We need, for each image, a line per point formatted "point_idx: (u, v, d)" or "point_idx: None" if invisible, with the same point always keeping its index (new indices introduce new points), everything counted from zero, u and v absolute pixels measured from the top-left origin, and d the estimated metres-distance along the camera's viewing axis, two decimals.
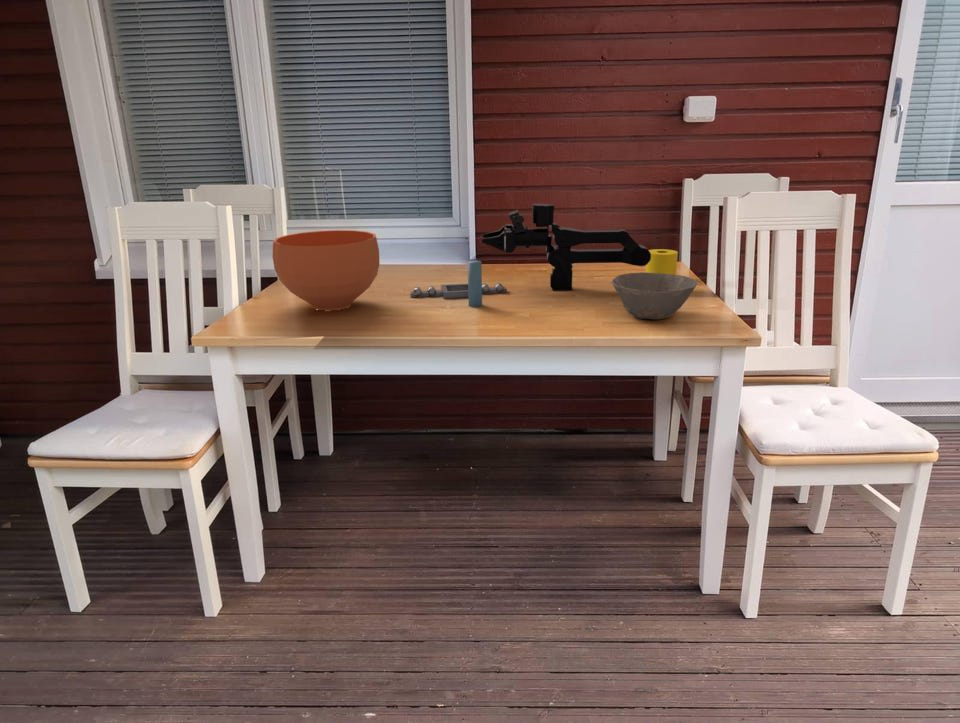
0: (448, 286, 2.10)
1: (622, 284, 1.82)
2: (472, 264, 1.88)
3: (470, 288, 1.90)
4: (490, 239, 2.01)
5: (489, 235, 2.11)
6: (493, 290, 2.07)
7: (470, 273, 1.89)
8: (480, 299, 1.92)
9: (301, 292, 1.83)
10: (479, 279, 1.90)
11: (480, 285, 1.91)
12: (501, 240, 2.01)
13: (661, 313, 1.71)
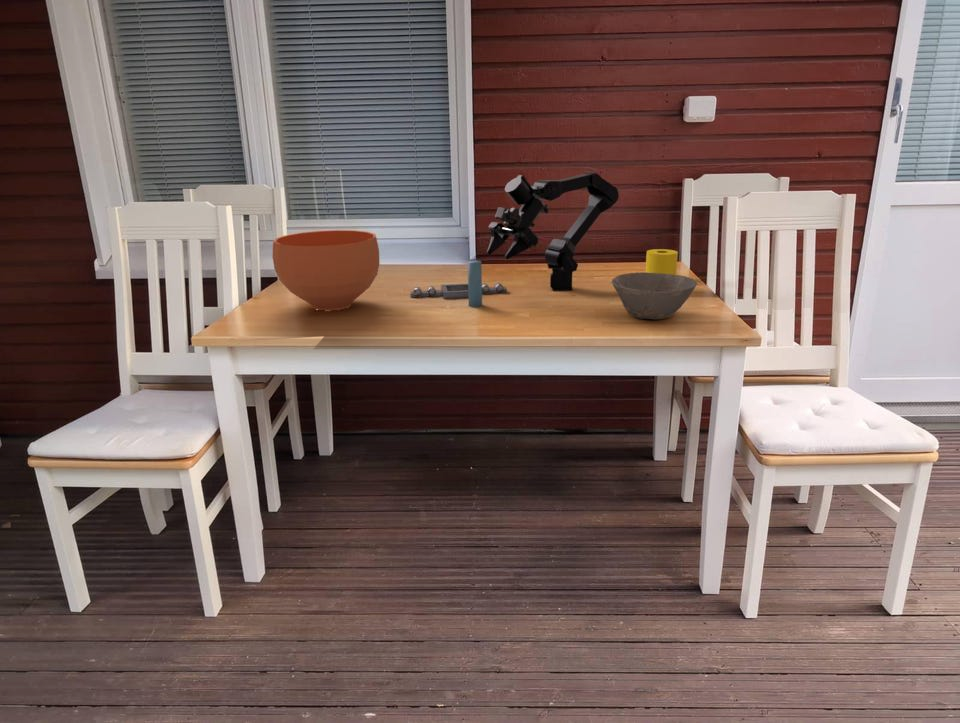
0: (448, 286, 2.10)
1: (622, 284, 1.82)
2: (472, 264, 1.88)
3: (470, 288, 1.90)
4: (511, 250, 1.89)
5: (491, 248, 1.97)
6: (493, 290, 2.07)
7: (470, 273, 1.89)
8: (480, 299, 1.92)
9: (301, 292, 1.83)
10: (479, 279, 1.90)
11: (480, 285, 1.91)
12: (519, 242, 1.90)
13: (661, 313, 1.71)
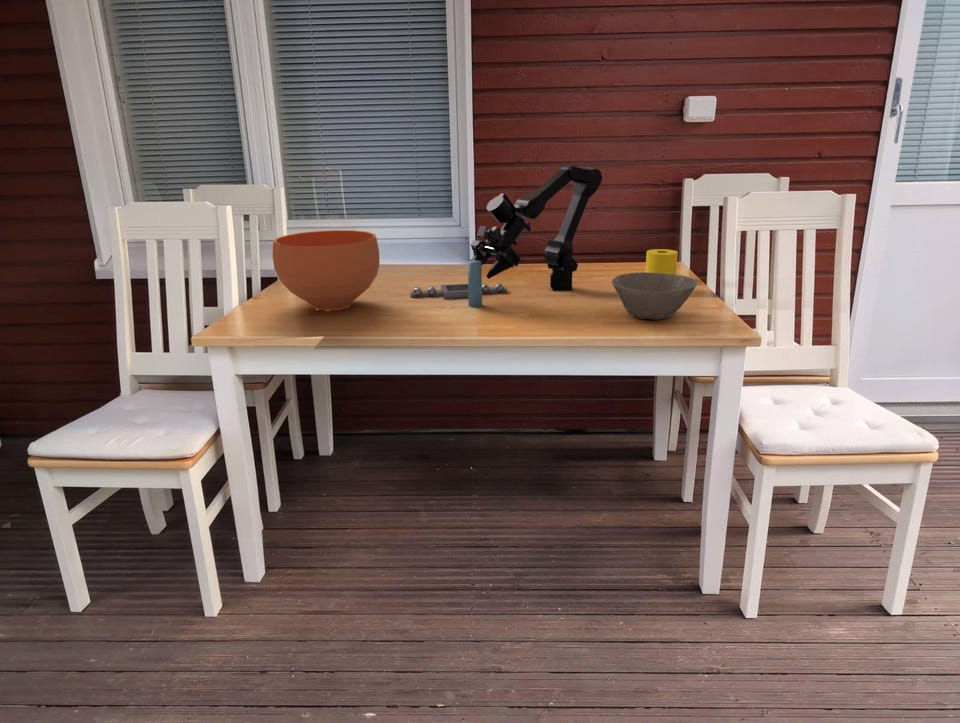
0: (448, 286, 2.10)
1: (622, 284, 1.82)
2: (472, 264, 1.88)
3: (470, 288, 1.90)
4: (493, 269, 1.87)
5: None
6: (493, 290, 2.07)
7: (470, 273, 1.89)
8: (480, 299, 1.92)
9: (301, 292, 1.83)
10: (479, 279, 1.90)
11: (480, 285, 1.91)
12: (501, 261, 1.88)
13: (661, 313, 1.71)
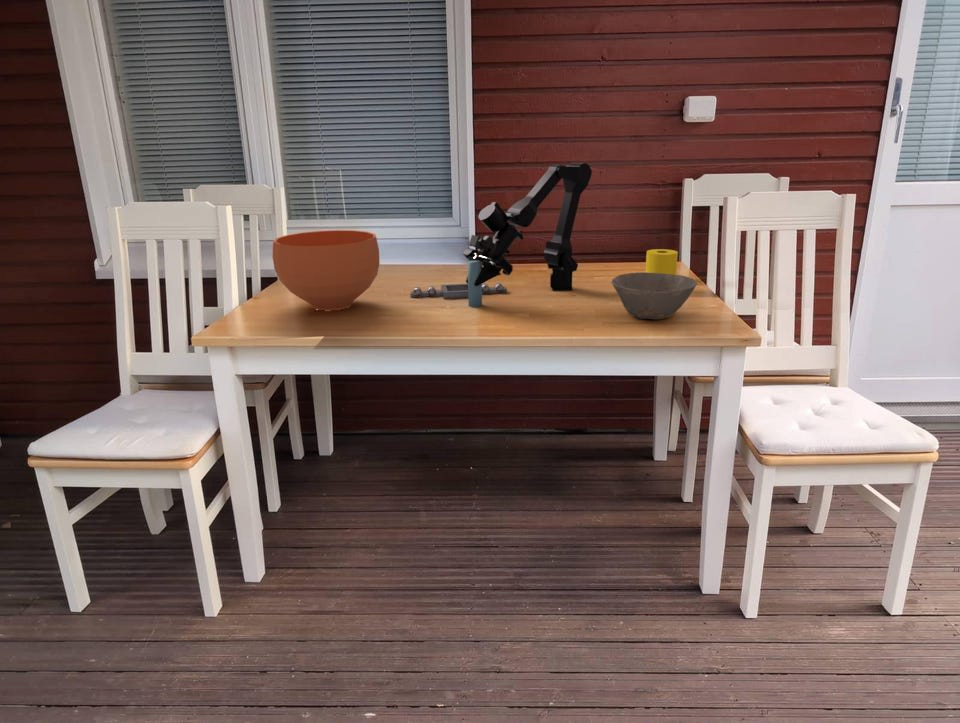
0: (448, 286, 2.10)
1: (622, 284, 1.82)
2: (472, 264, 1.88)
3: (470, 288, 1.90)
4: (481, 277, 1.88)
5: None
6: (493, 290, 2.07)
7: (470, 273, 1.89)
8: (480, 299, 1.92)
9: (301, 292, 1.83)
10: None
11: (480, 285, 1.91)
12: (489, 269, 1.89)
13: (661, 313, 1.71)
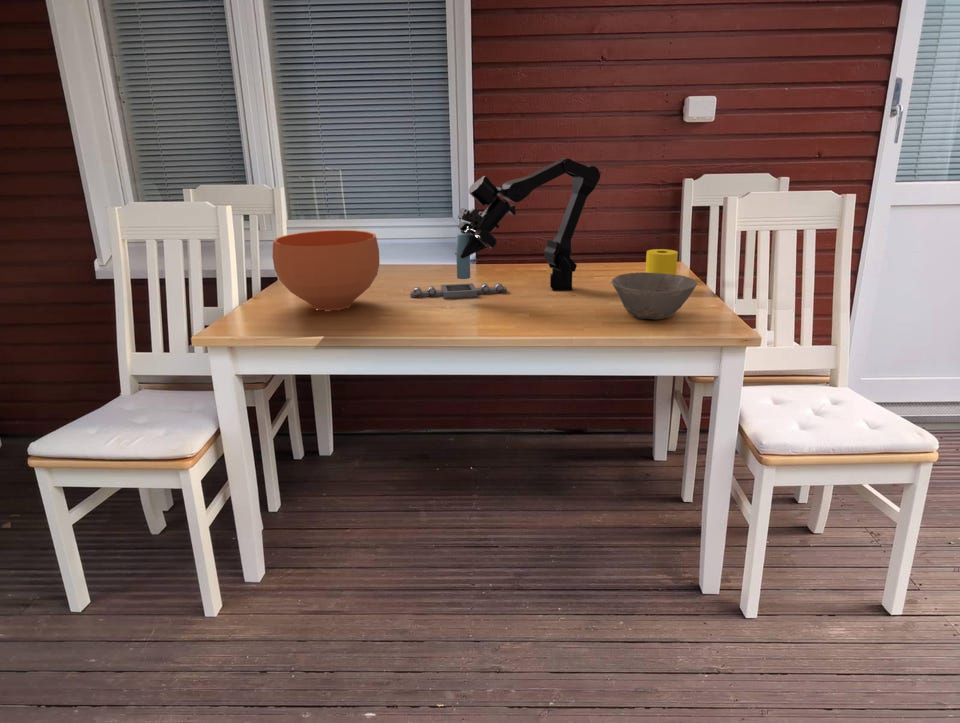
0: (448, 286, 2.10)
1: (622, 284, 1.82)
2: (458, 236, 1.92)
3: (457, 260, 1.95)
4: (466, 250, 1.92)
5: None
6: (493, 290, 2.07)
7: (457, 245, 1.93)
8: (467, 271, 1.96)
9: (301, 292, 1.83)
10: None
11: (467, 258, 1.94)
12: (475, 242, 1.92)
13: (661, 313, 1.71)
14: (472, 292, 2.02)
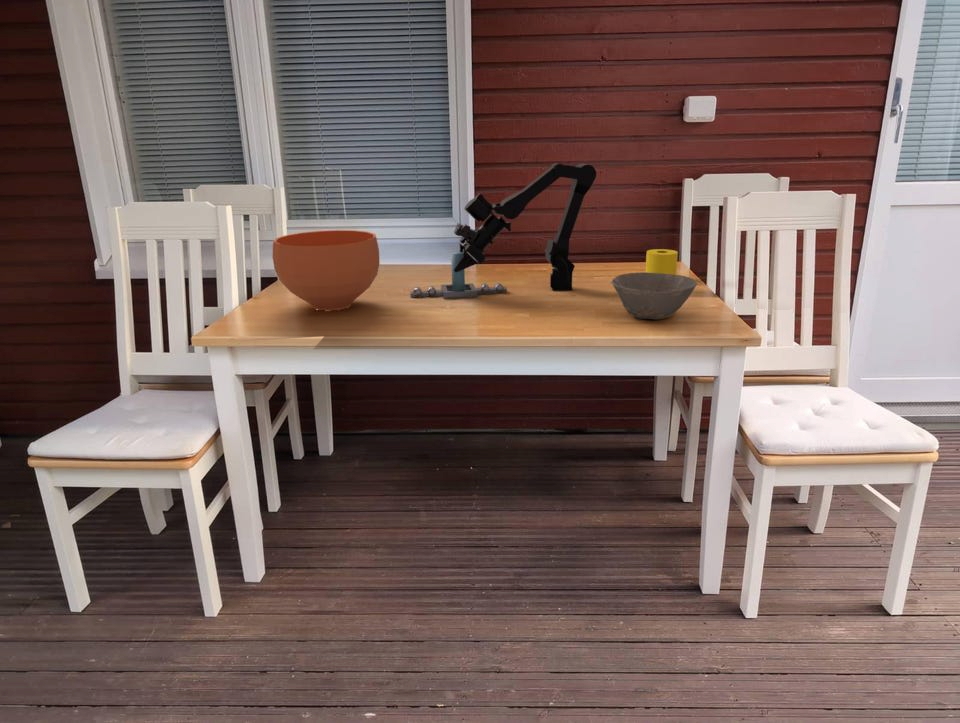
0: (448, 286, 2.10)
1: (622, 284, 1.82)
2: (453, 255, 2.02)
3: (452, 277, 2.05)
4: (459, 264, 2.00)
5: None
6: (493, 290, 2.07)
7: (452, 263, 2.03)
8: (461, 288, 2.05)
9: (301, 292, 1.83)
10: None
11: (461, 275, 2.04)
12: (468, 257, 1.99)
13: (661, 313, 1.71)
14: (472, 292, 2.02)
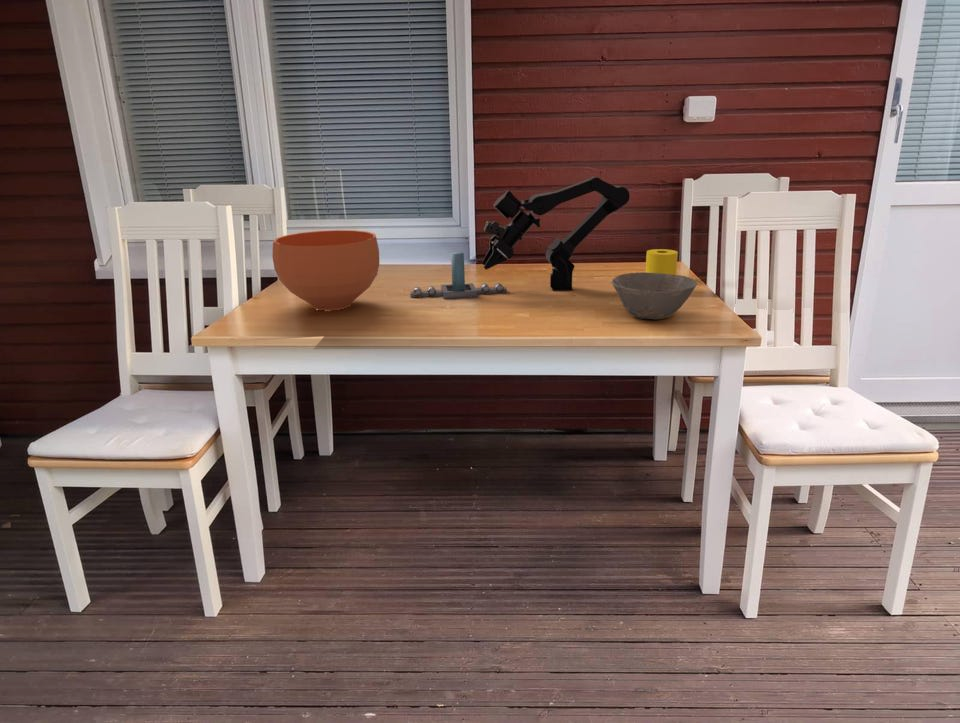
0: (448, 286, 2.10)
1: (622, 284, 1.82)
2: (453, 255, 2.02)
3: (452, 277, 2.05)
4: (489, 261, 2.00)
5: (486, 259, 2.10)
6: (493, 290, 2.07)
7: (452, 263, 2.03)
8: (461, 288, 2.05)
9: (301, 292, 1.83)
10: (459, 270, 2.03)
11: (461, 275, 2.04)
12: (497, 253, 1.99)
13: (661, 313, 1.71)
14: (472, 292, 2.02)
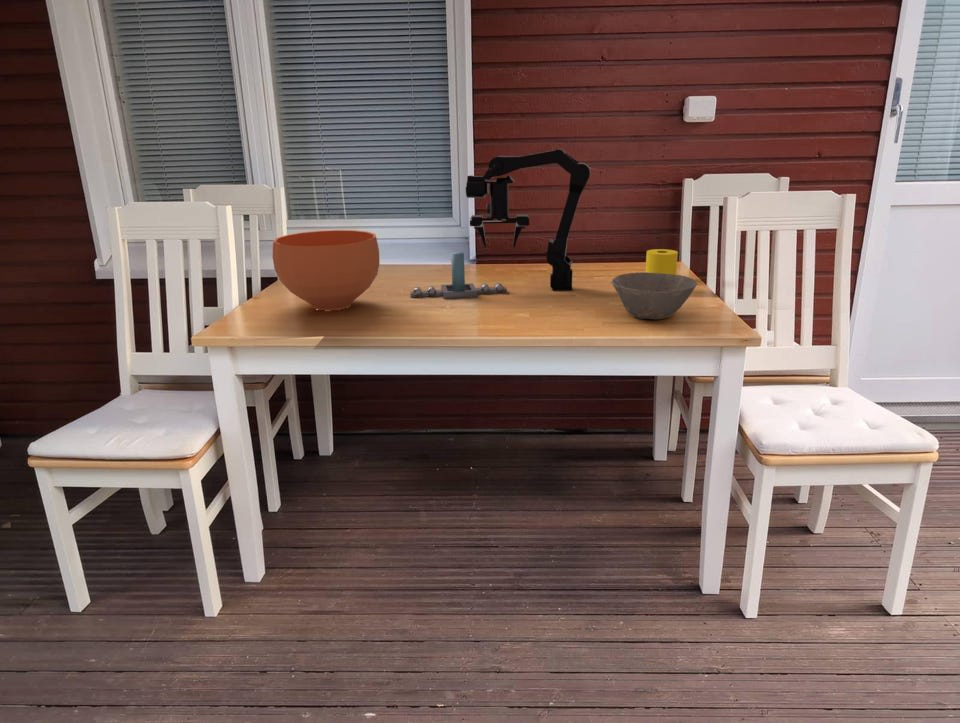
0: (448, 286, 2.10)
1: (622, 284, 1.82)
2: (453, 255, 2.02)
3: (452, 277, 2.05)
4: None
5: None
6: (493, 290, 2.07)
7: (452, 263, 2.03)
8: (461, 288, 2.05)
9: (301, 292, 1.83)
10: (459, 270, 2.03)
11: (461, 275, 2.04)
12: None
13: (661, 313, 1.71)
14: (472, 292, 2.02)
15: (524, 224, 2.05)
